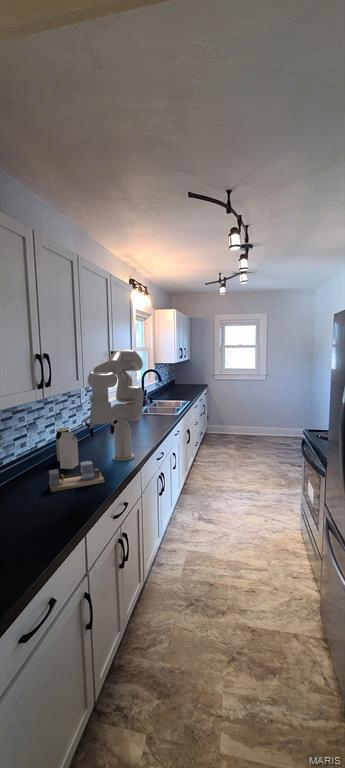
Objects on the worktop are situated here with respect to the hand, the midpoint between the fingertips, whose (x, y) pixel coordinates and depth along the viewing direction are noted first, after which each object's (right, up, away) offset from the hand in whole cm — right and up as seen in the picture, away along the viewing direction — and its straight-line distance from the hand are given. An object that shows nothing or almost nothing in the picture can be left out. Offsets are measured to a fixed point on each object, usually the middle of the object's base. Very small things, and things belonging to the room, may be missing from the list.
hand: (102, 435), depth 167 cm
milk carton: (-22, -21, +21) cm, 37 cm away
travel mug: (-28, -19, +34) cm, 48 cm away
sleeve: (-7, -20, -1) cm, 21 cm away
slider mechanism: (-11, -23, -2) cm, 25 cm away
